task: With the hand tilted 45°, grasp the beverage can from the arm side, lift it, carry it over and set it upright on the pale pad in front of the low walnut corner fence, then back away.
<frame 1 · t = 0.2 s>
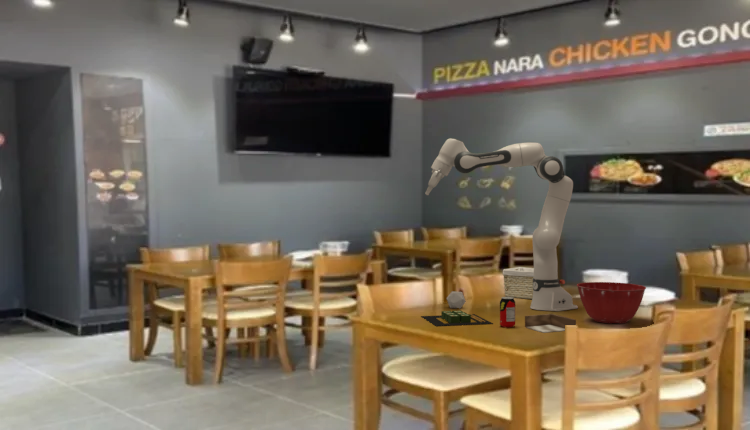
hand: (426, 194, 375), 54 cm above the table, tool tilted 30°, fingers open, 8 cm apart
beverage can: (507, 326, 327), on the table
die: (456, 308, 376), on the table
mixing bowl: (610, 321, 338), on the table
corner fence: (546, 329, 320), on the table
sushi: (456, 322, 342), on the table
storage basket: (529, 297, 411), on the table
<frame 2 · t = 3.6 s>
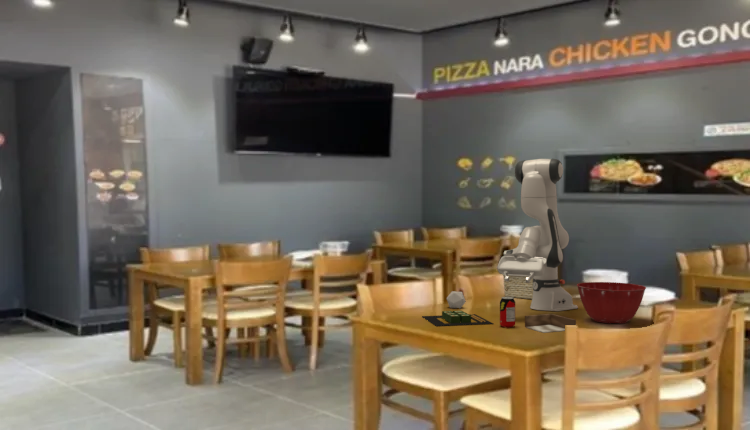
hand: (516, 281, 337), 17 cm above the table, tool tilted 45°, fingers open, 8 cm apart
nothing on the table moved.
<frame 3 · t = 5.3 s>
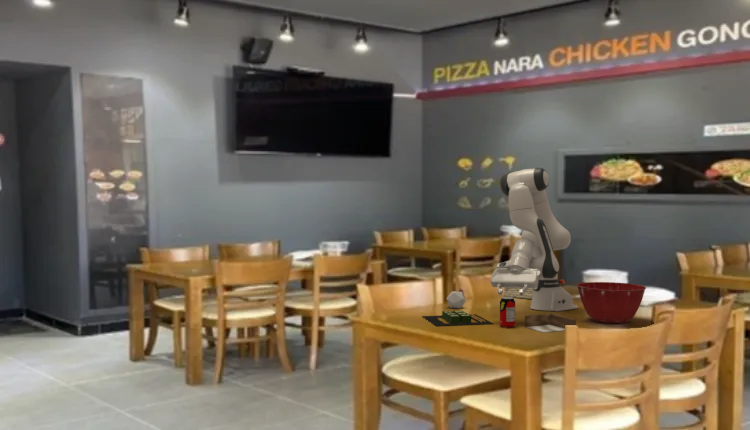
hand: (510, 293, 329), 13 cm above the table, tool tilted 45°, fingers open, 8 cm apart
nothing on the table moved.
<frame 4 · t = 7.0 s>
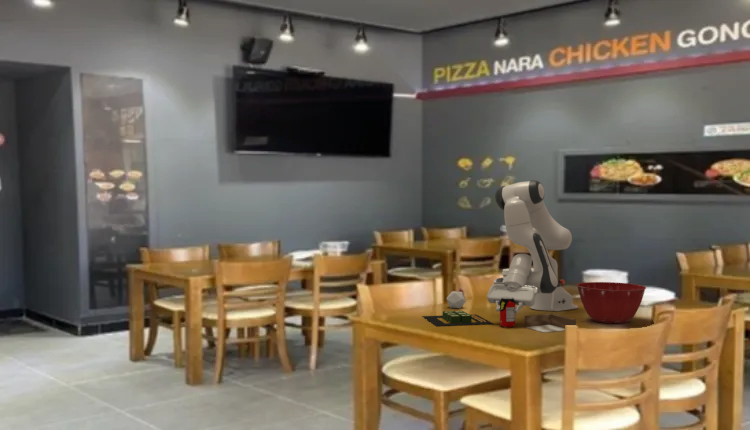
hand: (507, 311, 326), 6 cm above the table, tool tilted 45°, fingers closed on beverage can, 6 cm apart
beverage can: (507, 326, 327), on the table, touching gripper
everything else where it was.
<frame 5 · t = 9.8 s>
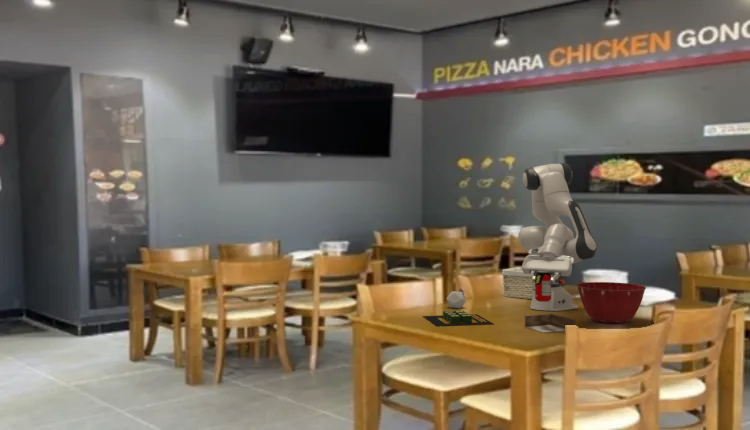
hand: (542, 281, 319), 19 cm above the table, tool tilted 45°, fingers closed on beverage can, 6 cm apart
beverage can: (542, 301, 319), point 11 cm above the table, touching gripper
everything else where it was.
when the fingers open (10 cm above the table, at t = 12.7 s): beverage can drops 1 cm, resting on corner fence.
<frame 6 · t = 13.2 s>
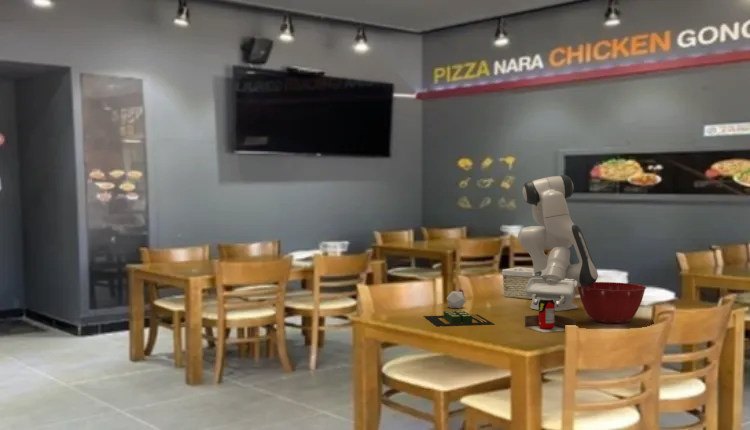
hand: (546, 305, 319), 10 cm above the table, tool tilted 45°, fingers open, 8 cm apart
beverage can: (546, 328, 320), resting on corner fence
everything else where it was.
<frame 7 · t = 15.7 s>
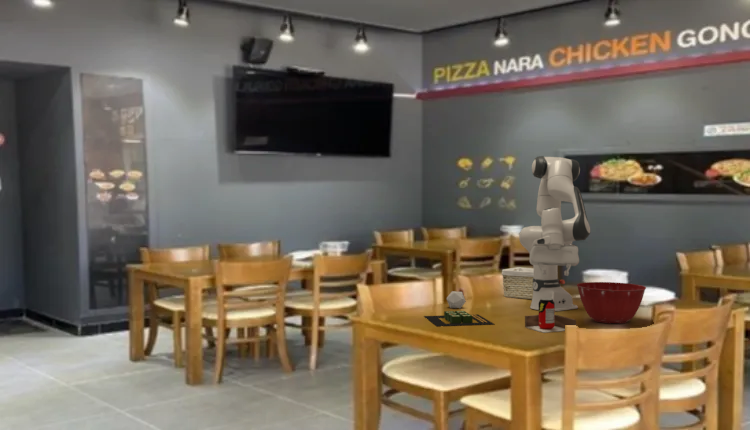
hand: (555, 274, 326), 21 cm above the table, tool tilted 25°, fingers open, 8 cm apart
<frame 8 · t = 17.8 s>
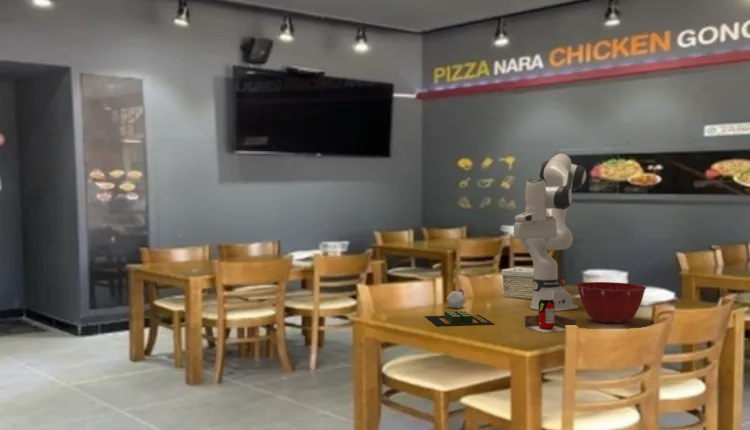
hand: (535, 248, 338), 31 cm above the table, tool pointing down, fingers open, 8 cm apart
at the end: beverage can inside the target area on the corner fence (0.2 cm from its centre), point 0.2 cm above the corner fence's base; beverage can tilted 0°; the gripper is holding nothing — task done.
